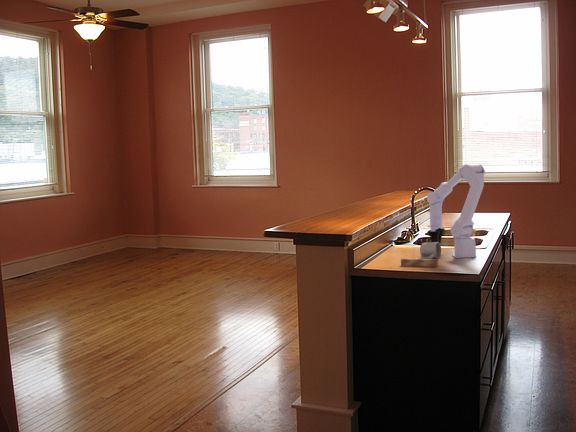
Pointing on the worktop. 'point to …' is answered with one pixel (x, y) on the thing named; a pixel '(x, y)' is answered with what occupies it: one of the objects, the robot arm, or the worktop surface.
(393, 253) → the worktop surface
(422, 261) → the rail
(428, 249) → the ceramic mug
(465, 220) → the robot arm
